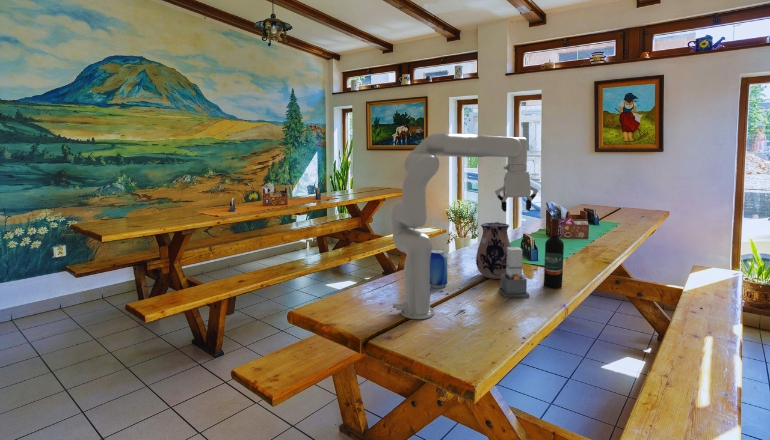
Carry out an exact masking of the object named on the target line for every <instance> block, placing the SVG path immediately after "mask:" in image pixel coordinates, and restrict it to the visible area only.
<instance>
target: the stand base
mask: <svg viewBox="0 0 770 440" xmlns="http://www.w3.org/2000/svg"><path fill="white" fill-rule="evenodd" d="M500 282H501V283H500V285H501V286H498V292H499V293H500V294H501V296H502V297H503V299H528V298H530V294H529V293H528V291H527V288H528V286H527V283H528V279H527V278H526V276H524V275H523V274H522V279H520V276H519V275H515V276H513V279H508V278H507V277H506V274H502V275H501V281H500Z"/></svg>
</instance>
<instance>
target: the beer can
mask: <svg viewBox="0 0 770 440" xmlns="http://www.w3.org/2000/svg"><path fill="white" fill-rule="evenodd" d="M447 285H448V255H447V253H446V250H444V249H437V248H436V249H435V248H434V249H432V251H431V257H430V287H432V288H435V289H441V288H445V287H446V286H447Z"/></svg>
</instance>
